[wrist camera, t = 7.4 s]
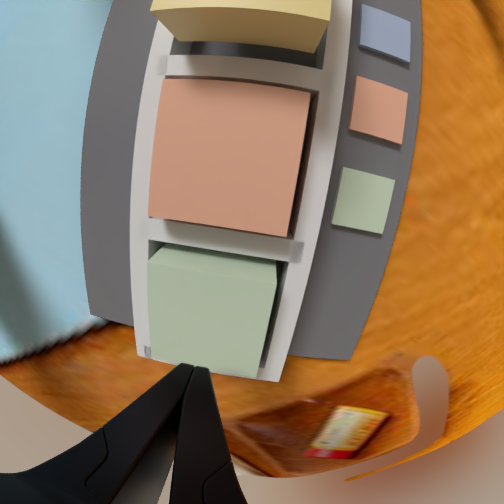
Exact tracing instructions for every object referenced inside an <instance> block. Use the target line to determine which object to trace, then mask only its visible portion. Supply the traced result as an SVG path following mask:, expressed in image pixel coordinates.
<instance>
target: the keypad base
mask: <svg viewBox="0 0 504 504" xmlns="http://www.w3.org/2000/svg"><path fill="white" fill-rule="evenodd" d="M152 2H153V0H114V1H113V4H112V7H111V10H110V13H109V16H108V19H107V22H106V25H105V28H104V32H103V35H102V39H101V42H100V46H99V50H98V54H97V58H96V62H95V67H94V71H93V76H92V81H91V87H90V92H89V98H88V105H87V111H86V119H85V127H84V137H83V148H82V163H81V235H82V250H83V262H84V271H85V280H86V288H87V295H88V302H89V308H90V314H91V315H94V316H98V317H101V318H104V319H108V320H111V321H115V322H118V323H122V324H126V325H129V326H133V327H134V329H135V339H136V347H137V355H138V356H142V357H145V358H149V359H153V360H157V361H161V362H165V363H169V364H174V365H179V364H175V363H171V362H167V361H162V360H158V359H154V358H151V347H150V334H149V319H148V297H147V261H148V260H149V259H150V258H151V257H152V256H153V255H154V254H155V253H156V252H157V251H158V250H160V249H161V248H162V247H163V246H164V245H165V244H166V243H167V242H168V243H174V244H180V245H186V246H193V247H199V248H205V249H211V250H218V251H224V252H230V253H236V254H243V255H249V256H255V257H262V258H268V259H274V260H276V277H277V286H276V290H275V295H274V300H273V305H272V309H271V314H270V318H269V323H268V328H267V332H266V337H265V341H264V345H263V350H262V354H261V358H260V363H259V367H258V371H257V376H256V378H252V377H245V376H238V375H232V374H226V373H220V372H214V371H210V372H212V373H218V374H224V375H230V376H236V377H242V378H249V379H257V380H265V381H273V382H279V379H280V376H281V373H282V370H283V366H284V363H285V360H286V357H287V355H292V356H301V357H312V358H324V359H337V360H350V358H351V356H352V353H353V351H354V349H355V347H356V344H357V342H358V340H359V337H360V335H361V333H362V330H363V328H364V325H365V323H366V320H367V318H368V315H369V312H370V310H371V307H372V305H373V302H374V299H375V296H376V294H377V291H378V288H379V285H380V282H381V279H382V276H383V273H384V270H385V267H386V264H387V261H388V257H389V254H390V251H391V247H392V244H393V241H394V237H395V233H396V230H397V226H398V222H399V218H400V214H401V210H402V206H403V202H404V197H405V193H406V188H407V184H408V179H409V174H410V168H411V163H412V157H413V151H414V145H415V138H416V131H417V123H418V114H419V104H420V93H421V77H422V17H421V2H420V0H332V2H331V13H330V21H329V23H328V25H327V27H326V29H325V31H324V34H323V36H322V38H321V40H320V42H319V44H318V46H317V48H316V50H315V52H314V53H309V52H304V51H299V50H293V49H287V48H280V47H273V46H266V45H257V44H247V43H234V42H213V41H181V42H179V41H178V40H177V39H176V38H175V37H174V36H173V35H172V34H171V32H170V31H169V30H168V29H167V28H166V27H165V26H164V25H163V24H162V23H161V22H160V21H159V20H158V19H157V18H156V17H155V16H154V15H153V14H152V13H151V12H150V8H151V5H152ZM163 79H204V80H221V81H234V82H244V83H253V84H261V85H268V86H275V87H281V88H287V89H293V90H299V91H304V92H309V93H311V95H310V102H309V108H308V115H307V121H306V128H305V134H304V140H303V146H302V152H301V158H300V164H299V170H298V176H297V181H296V187H295V193H294V198H293V204H292V209H291V214H290V220H289V225H288V230H287V236H286V237H283V236H277V235H271V234H265V233H258V232H252V231H246V230H239V229H233V228H226V227H220V226H213V225H206V224H200V223H193V222H186V221H179V220H172V219H165V218H158V217H151V216H148V201H149V185H150V173H151V162H152V152H153V143H154V134H155V127H156V119H157V112H158V106H159V100H160V94H161V88H162V82H163Z"/></svg>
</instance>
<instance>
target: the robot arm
mask: <svg viewBox="0 0 504 504" xmlns="http://www.w3.org/2000/svg"><path fill="white" fill-rule="evenodd" d="M173 460H174V464H173V472H172V482H171V490H170V500H169V504H248V503H247V501H246V499H245V497H244V495H243V492H242V490H241V488H240V485H239V482H238V479H237V476H236V473H235V470H234V466H233V463H232V462H231V456H230V453H229V449H228V445H227V441H226V438H225V434H224V430H223V426H222V422H221V418H220V414H219V410H218V406H217V402H216V397H215V393H214V389H213V384H212V380H211V375H210V370H209V368H207V367H202V366H194V365H192V364H187V363H180V364H179V365H177V366H176V367H175V368H174V369H173V370H171V371H170V372H169V373H168V374H167V375H165V376H164V377H163V378H162V379H161V380H159V381H158V382H157V383H156V384H155V385H153V386H152V387H151V388H150V389H148V390H147V391H146V392H145V393H144V394H142V395H141V396H140V397H139V398H137V399H136V400H135V401H134V402H132V403H131V404H130V405H129V406H127V407H126V408H125V409H124V410H122V411H121V412H120V413H119V414H117V415H116V416H115V417H114V418H112V419H111V420H110V421H108V422H107V423H106V424H105V425H103V428H102V427H101V428H99V429H98V430H97V431H95V432H94V433H93V434H91V435H90V436H89V437H87V438H86V439H84V440H83V441H82V442H80V443H79V444H77V445H75V446H73V447H72V448H70V449H68V450H67V451H65V452H63V453H61V454H59V455H57V456H56V457H54V458H52V459H50V460H48V461H46V462H44V463H42V464H40V465H38V466H36V467H34V468H32V469H29V470H27V471H23V472H18V473H0V504H157V503H158V500H159V497H160V495H161V492H162V489H163V487H164V484H165V481H166V478H167V476H168V473H169V471H170V468H171V465H172V463H173Z"/></svg>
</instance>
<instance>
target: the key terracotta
mask: <svg viewBox="0 0 504 504" xmlns="http://www.w3.org/2000/svg"><path fill="white" fill-rule="evenodd" d="M310 95H311V93H309V92H304V91H299V90H293V89H287V88H281V87H275V86H268V85H261V84H253V83H244V82H234V81H221V80H204V79H163V82H162V88H161V94H160V100H159V106H158V112H157V119H156V127H155V134H154V143H153V152H152V162H151V173H150V185H149V201H148V216H151V217H158V218H165V219H172V220H179V221H186V222H193V223H200V224H206V225H213V226H220V227H226V228H233V229H239V230H246V231H252V232H258V233H265V234H271V235H277V236H283V237H286V236H287V230H288V225H289V220H290V214H291V209H292V204H293V198H294V193H295V187H296V181H297V176H298V170H299V164H300V158H301V152H302V146H303V140H304V134H305V128H306V121H307V115H308V108H309V102H310Z"/></svg>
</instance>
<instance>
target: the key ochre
mask: <svg viewBox="0 0 504 504" xmlns="http://www.w3.org/2000/svg"><path fill="white" fill-rule="evenodd" d="M331 2H332V0H153V2H152V5H151V8H150V12H151V13H152V14H153V15H154V16H155V17H156V18H157V19H158V20H159V21H160V22H161V23H162V24H163V25H164V26H165V27H166V28H167V29H168V30H169V31H170V32H171V34H172V35H173V36H174V37H175V38H176V39H177V40H178V41H179V42H181V41H213V42H234V43H247V44H257V45H266V46H273V47H280V48H287V49H293V50H299V51H304V52H309V53H314V52H315V50H316V48H317V46H318V44H319V42H320V40H321V38H322V36H323V34H324V31H325V29H326V27H327V25H328V23H329V21H330V13H331Z"/></svg>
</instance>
